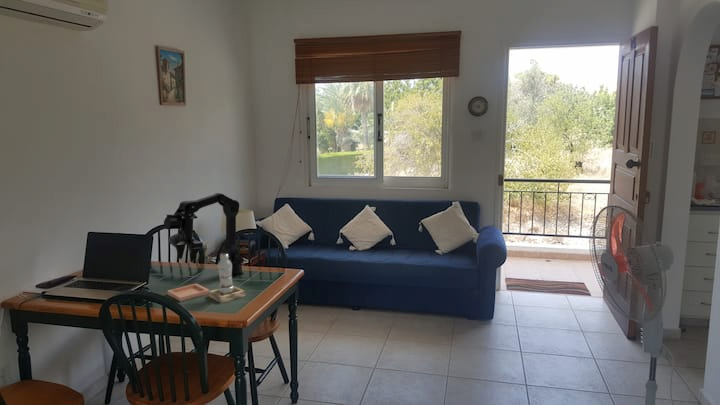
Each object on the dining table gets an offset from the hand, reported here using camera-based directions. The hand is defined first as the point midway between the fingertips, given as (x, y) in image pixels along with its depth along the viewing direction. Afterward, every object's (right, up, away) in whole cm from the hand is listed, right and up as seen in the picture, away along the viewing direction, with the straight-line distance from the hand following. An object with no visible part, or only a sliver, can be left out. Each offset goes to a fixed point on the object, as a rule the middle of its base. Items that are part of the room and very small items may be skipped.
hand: (185, 260), depth 233 cm
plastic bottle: (+22, -16, -10) cm, 29 cm away
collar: (+22, -15, -10) cm, 29 cm away
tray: (+3, -15, -6) cm, 17 cm away
